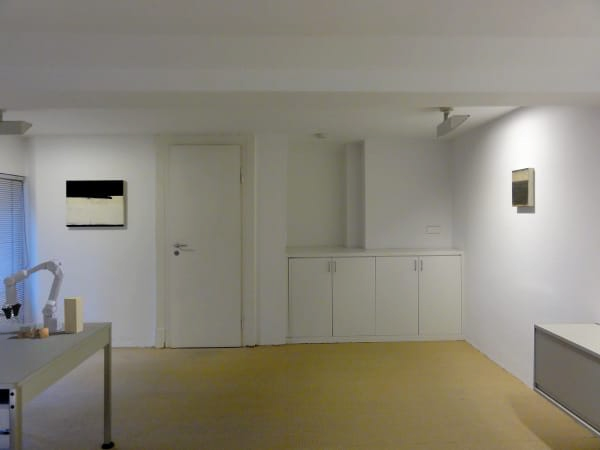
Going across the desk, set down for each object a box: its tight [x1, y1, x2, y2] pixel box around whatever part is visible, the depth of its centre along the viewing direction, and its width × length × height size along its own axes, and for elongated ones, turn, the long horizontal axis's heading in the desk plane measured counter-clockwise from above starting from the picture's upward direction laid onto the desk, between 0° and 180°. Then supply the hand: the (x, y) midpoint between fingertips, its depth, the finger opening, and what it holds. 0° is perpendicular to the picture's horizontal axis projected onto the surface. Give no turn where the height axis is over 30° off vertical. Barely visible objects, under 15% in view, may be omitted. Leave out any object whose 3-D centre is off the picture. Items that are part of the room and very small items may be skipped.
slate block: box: [19, 323, 37, 333], centre depth 258 cm, size 6×6×4 cm
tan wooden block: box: [63, 296, 84, 334], centre depth 266 cm, size 8×7×21 cm
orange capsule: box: [39, 327, 50, 339], centre depth 255 cm, size 4×4×5 cm
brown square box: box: [17, 328, 40, 339], centre depth 258 cm, size 8×8×4 cm
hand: (12, 317), depth 267 cm, fingers open, 7 cm apart
